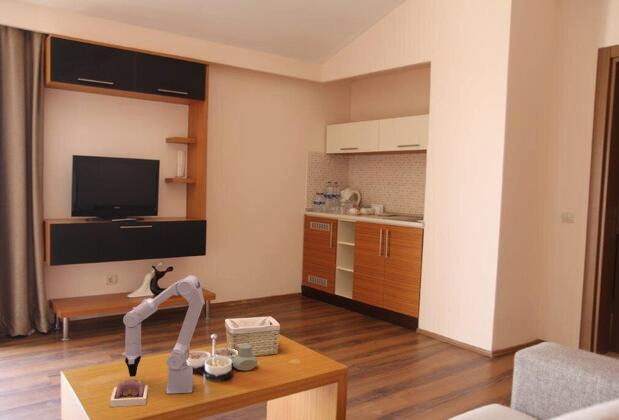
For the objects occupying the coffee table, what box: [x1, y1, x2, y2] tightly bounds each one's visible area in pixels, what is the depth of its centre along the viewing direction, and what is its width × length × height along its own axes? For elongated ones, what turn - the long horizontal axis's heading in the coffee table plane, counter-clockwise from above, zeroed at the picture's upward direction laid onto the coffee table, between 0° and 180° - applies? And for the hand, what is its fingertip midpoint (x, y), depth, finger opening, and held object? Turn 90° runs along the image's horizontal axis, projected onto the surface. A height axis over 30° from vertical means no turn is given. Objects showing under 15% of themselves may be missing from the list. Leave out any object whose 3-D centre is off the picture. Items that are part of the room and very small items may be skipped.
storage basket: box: [224, 316, 281, 357], centre depth 249 cm, size 24×16×15 cm
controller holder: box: [109, 384, 149, 408], centre depth 192 cm, size 12×12×2 cm
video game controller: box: [116, 379, 145, 399], centre depth 195 cm, size 10×5×7 cm, turn 99°
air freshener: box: [231, 344, 258, 372], centre depth 227 cm, size 11×8×10 cm
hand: (132, 375), depth 203 cm, fingers closed
